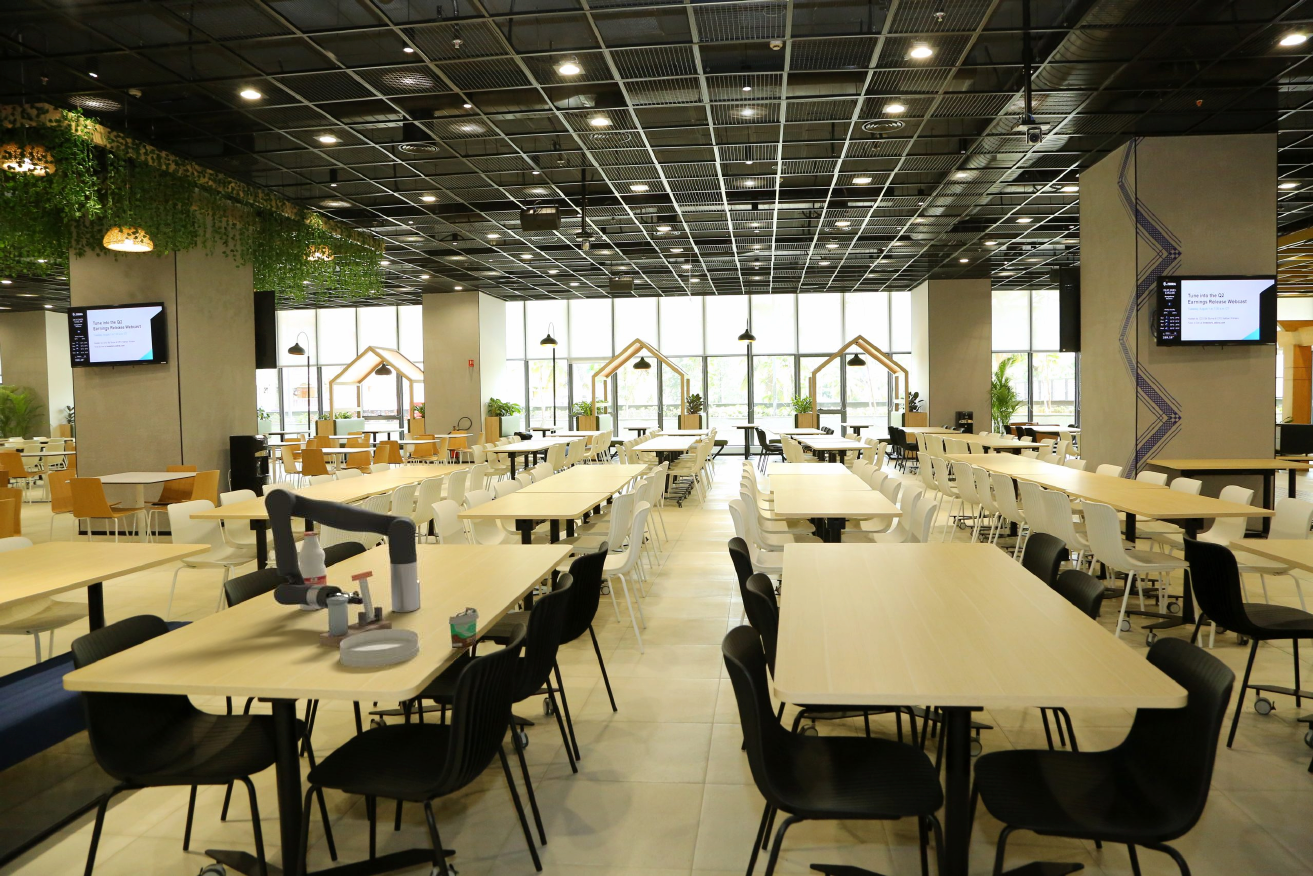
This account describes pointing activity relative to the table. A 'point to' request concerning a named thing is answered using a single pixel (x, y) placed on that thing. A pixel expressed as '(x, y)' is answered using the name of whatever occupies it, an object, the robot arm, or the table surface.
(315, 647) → the table surface
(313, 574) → the fruit juice
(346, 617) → the grey canister
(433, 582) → the table surface
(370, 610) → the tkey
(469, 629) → the food container
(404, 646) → the dish
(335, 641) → the housing
